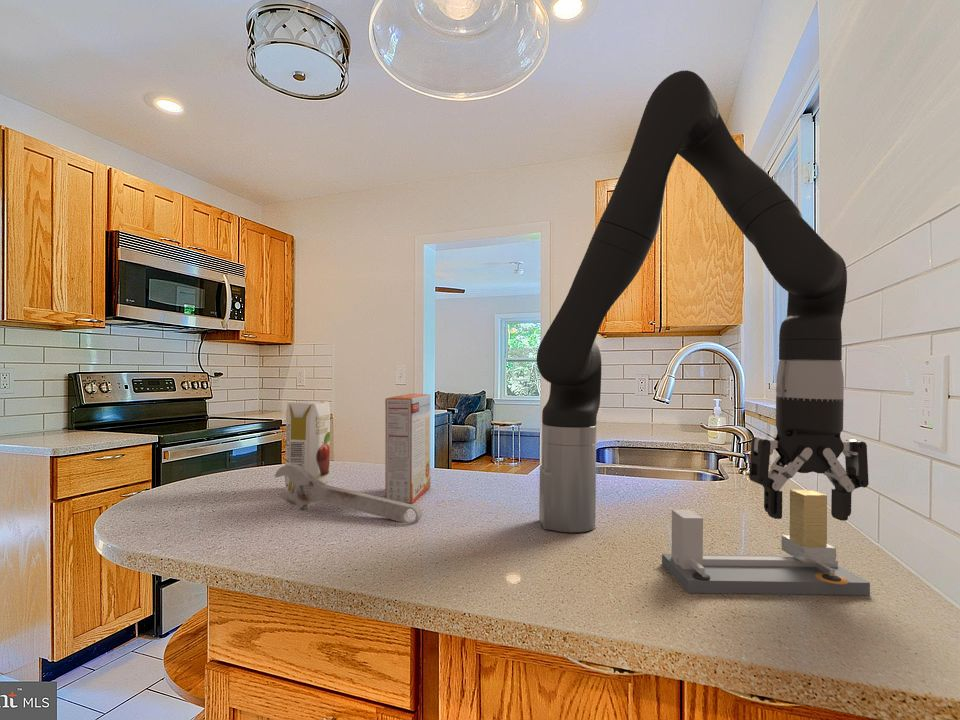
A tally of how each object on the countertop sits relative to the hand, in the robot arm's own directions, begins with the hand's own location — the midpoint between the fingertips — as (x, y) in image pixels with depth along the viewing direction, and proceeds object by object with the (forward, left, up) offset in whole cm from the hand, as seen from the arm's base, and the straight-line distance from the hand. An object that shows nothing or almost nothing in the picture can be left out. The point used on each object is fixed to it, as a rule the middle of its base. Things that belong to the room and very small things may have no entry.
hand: (807, 518), depth 68 cm
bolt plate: (-7, -1, -8) cm, 10 cm away
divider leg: (0, -1, -6) cm, 6 cm away
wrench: (-67, +26, -8) cm, 73 cm away
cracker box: (-58, +40, -8) cm, 71 cm away
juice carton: (-80, +43, -8) cm, 91 cm away
